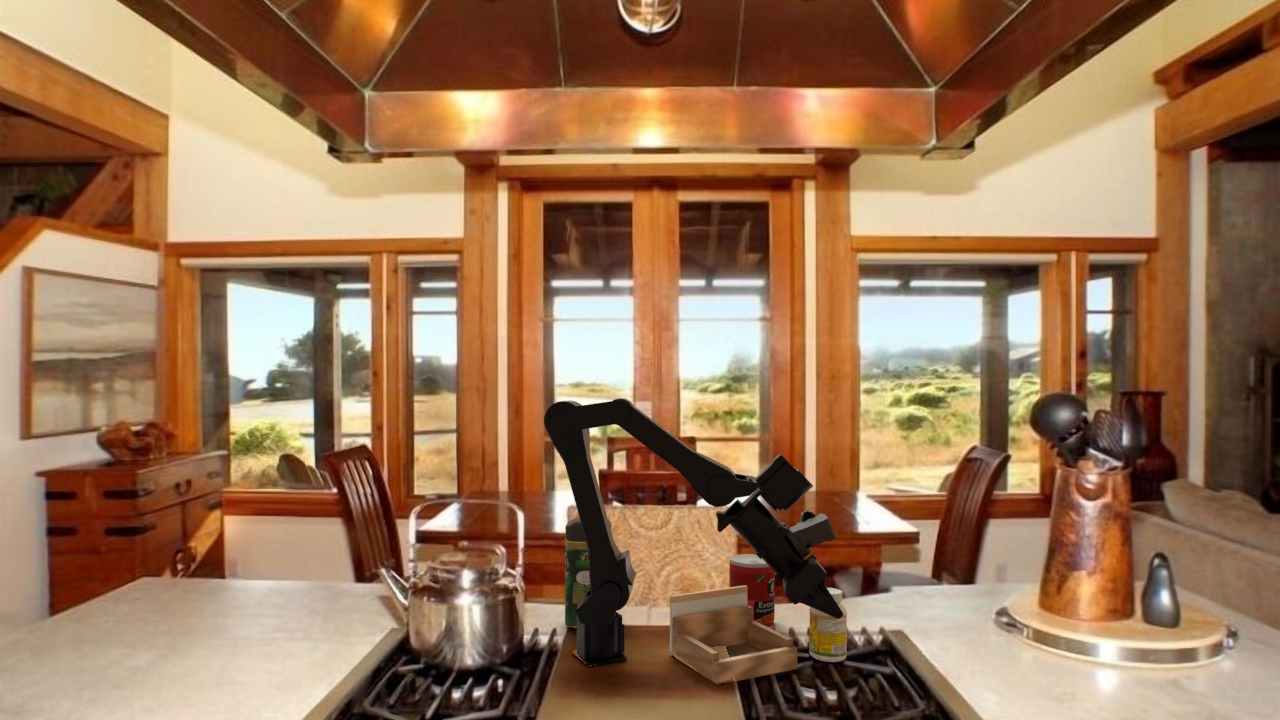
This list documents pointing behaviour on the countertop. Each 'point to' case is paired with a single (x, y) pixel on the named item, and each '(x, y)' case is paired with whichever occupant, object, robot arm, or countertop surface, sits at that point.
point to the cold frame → (732, 645)
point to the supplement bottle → (828, 632)
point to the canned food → (755, 585)
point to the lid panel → (706, 603)
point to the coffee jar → (575, 569)
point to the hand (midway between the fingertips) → (837, 610)
